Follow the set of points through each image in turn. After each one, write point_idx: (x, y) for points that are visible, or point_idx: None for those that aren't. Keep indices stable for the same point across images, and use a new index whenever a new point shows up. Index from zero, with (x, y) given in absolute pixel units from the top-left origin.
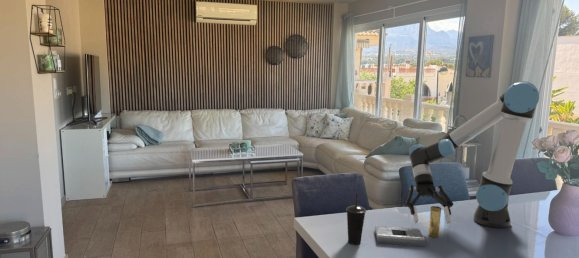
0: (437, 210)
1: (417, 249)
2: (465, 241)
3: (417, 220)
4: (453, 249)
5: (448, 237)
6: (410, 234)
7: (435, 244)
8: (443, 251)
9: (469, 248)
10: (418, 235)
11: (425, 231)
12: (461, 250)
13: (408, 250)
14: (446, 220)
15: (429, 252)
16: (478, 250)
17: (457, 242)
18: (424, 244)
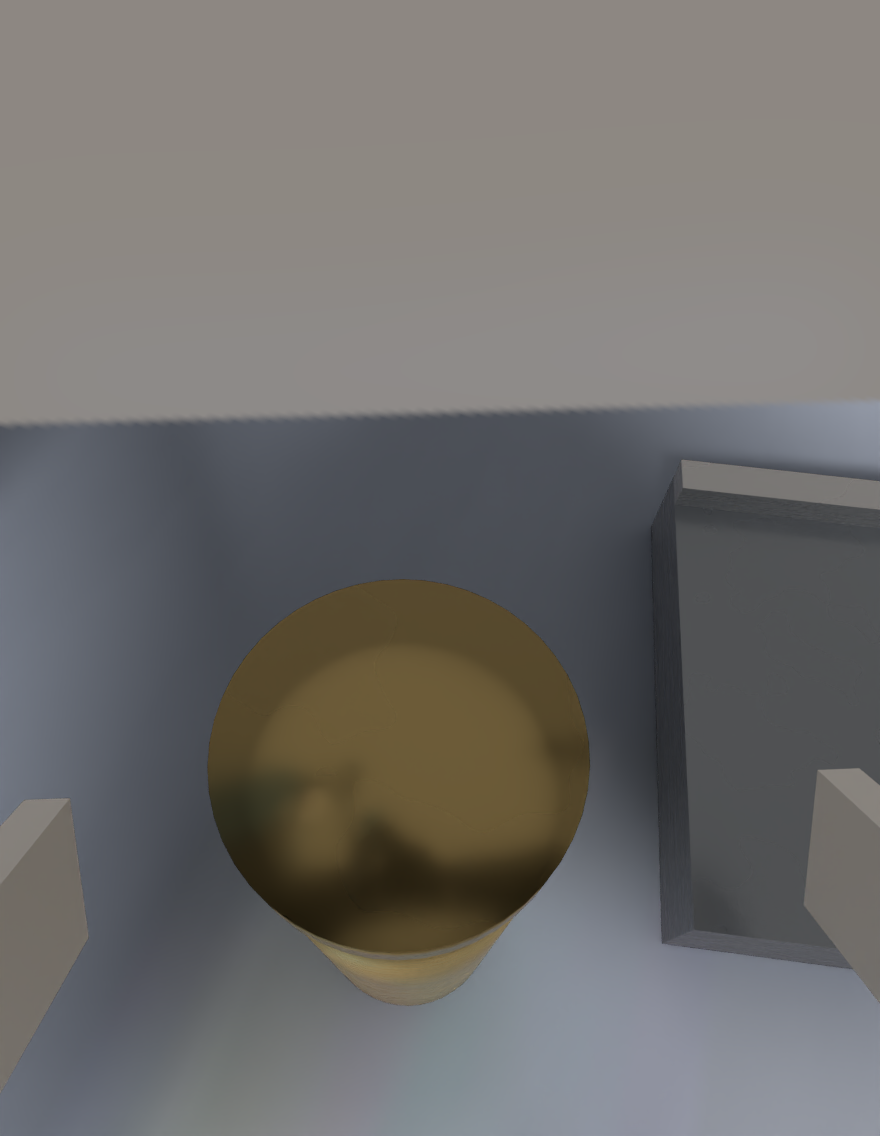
0: (409, 598)
1: (743, 462)
2: (3, 700)
3: (842, 769)
4: (318, 475)
5: (186, 838)
6: (865, 654)
7: (491, 589)
8: (458, 431)
9: (100, 505)
10: (742, 624)
11: (503, 1119)
12: (234, 457)
13: (845, 439)
14: (55, 985)
15: (621, 408)
16: (25, 463)
17: (149, 661)
18: (659, 511)
